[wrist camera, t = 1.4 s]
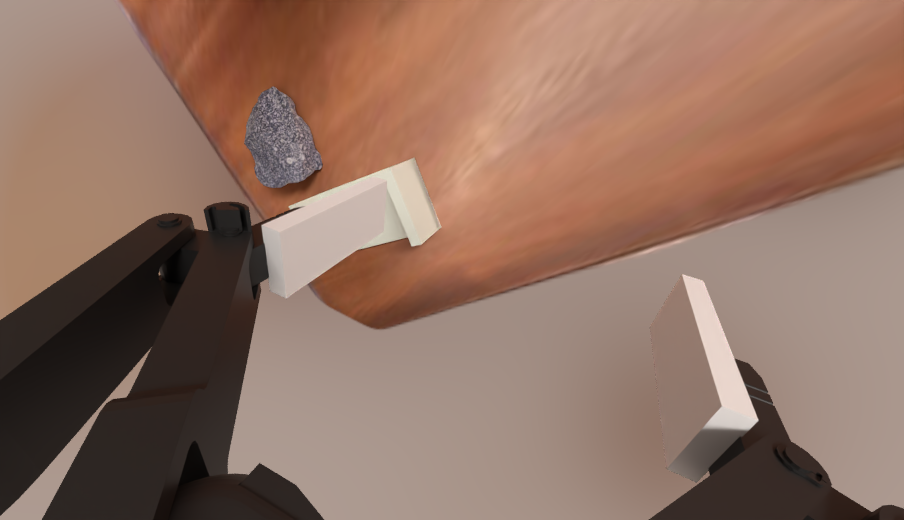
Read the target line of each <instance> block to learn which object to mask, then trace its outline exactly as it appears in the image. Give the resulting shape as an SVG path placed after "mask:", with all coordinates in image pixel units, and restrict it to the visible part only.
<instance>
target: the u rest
mask: <svg viewBox="0 0 904 520" xmlns="http://www.w3.org/2000/svg"><path fill="white" fill-rule="evenodd" d="M373 176H374V177H377V178H380V179H383V180H387V192H386V207H385V221H384V232H382V233H381V234H379V235H378V236H377V237H375V238H374V239H372V240H371V241H369V242H368V243H366V244H365V245H363V246H362V247H361V248H359V249H363V248H367V247H371V246H375V245H379V244H383V243H387V242H391V241H395V240H399V239H403V238H407V237H408V239H409V241H410V243H411V246H416V245H421V244H423V243H424V242H425V241H426V240H427V239H428V238H429V237H431V236H432V235H433V234H434V233H435V232H436V231H437V230H439V229H440V228H441V225H440V222H439V220H438V217H437V215H436V212H435V209H434V207H433V204H432V202H431V199H430V197H429V194H428V191H427V189H426V186H425V184H424V181H423V179H422V176H421V173H420V171H419V168H418V166H417V163H416V161H415V158H412V159H410V160H407V161H404V162H402V163H399V164H396V165H394V166H391V167H389V168H386V169H383V170H381V171H378V172H375V173H373V174H370V175H367V176H365V177H362V178H360V179H357V180H354V181H352V182H349V183H346V184H344V185H341V186H339V187H336V188H333V189H331V190H328V191H325V192H323V193H320V194H317V195H315V196H313V197H310V198H308V199H305V200H303V201H300V202H298V203H295V204H293V205H291V206H289V208H290V210H291V209H293V208H297V207H302V206H306V205H309V204H311V203H313V202H316V201H318V200H320V199H323V198H325V197H327V196H330V195H332V194H334V193H336V192H339V191H341V190H343V189H346V188H348V187H350V186H353V185H355V184H357V183H359V182H362V181H364V180H366V179H369V178H371V177H373ZM359 249H358V250H359Z"/></svg>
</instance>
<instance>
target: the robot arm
mask: <svg viewBox="0 0 904 520" xmlns="http://www.w3.org/2000/svg"><path fill="white" fill-rule="evenodd" d="M386 192H387V180H383V179H380V178H377V177H374V176H373V177H371V178H369V179H366V180H364V181H362V182H359V183H357V184H355V185H353V186H350V187H348V188H346V189H343V190H341V191H339V192H336V193H334V194H332V195H330V196H327V197H325V198H323V199H320V200H318V201H316V202H313V203H311V204H309V205H306V206H302V207H297V208H293V209H291V210H288V211H286V212H284V214H283V213H281V214H279V215H277V216H276V217H272V218H270V219H267V220H265V221H262V222H260V223H258V224H255V225H254V226H251V220H250V213H249V207H247V206H246V205H245V204H242V203H238V202H221V203H215V204H212V205H209V206H207V207H206V208H205V209H204V213H205V218H206V222H207V227H208V231H203V230H197V229H194V225H193V221H192V218H191V217H189V216H188V215H183V214H174V213H168V214H162V215H159V216H156V217H153V218H151V219H149V220H147V221H146V222H144V223H143V224H141V225H140V226H138V227H137V228H135V229H134V230H132V231H131V232H129V233H128V234H127V235H125V236H124V237H122V238H121V239H119V240H118V241H116V242H115V243H113V244H112V245H111V246H109V247H107V248H106V249H104V250H103V251H101V252H100V253H99V254H97V255H96V256H94V257H93V258H91V259H90V260H88V261H87V262H85V263H84V264H82V265H81V266H80V267H78V268H77V269H75V270H73V271H72V272H70V273H69V274H68V275H66V276H65V277H63V278H62V279H60V280H59V281H57V282H56V283H54V284H53V285H51V286H50V287H48V288H47V289H45V290H44V291H43V292H41V293H40V294H38V295H37V296H35V297H34V298H32V299H31V300H29V301H28V302H26V303H25V304H23V305H22V306H20V307H19V308H17V309H16V310H15V311H13V312H12V313H10V314H9V315H7V316H6V317H4V318H3V319H1V320H0V515H2V514H3V513H4V512H5V511H6V510H7V509H8V508H9V507H10V506H11V505H12V504H13V503H14V502H15V501H16V500H17V499H19V498H20V496H21V495H22V494H23V493H24V492H25V491H26V490H27V489H28V488H29V487H30V486H31V485H32V484H33V483H34V481H35V480H36V479H37V478H38V477H39V476H40V475H41V474H42V473H43V472H44V471H45V469H46V468H47V467H48V466H49V464H51V462H52V461H53V460H54V459H55V458H56V457H57V455H58V454H59V453H60V452H61V451H62V450H63V449H64V447H65V446H66V445H67V444H68V443H69V442H70V441H71V439H72V438H73V437H74V436H75V435H76V434H77V432H78V431H79V430H80V429H81V428H82V427H83V426H84V424H85V423H86V422H87V421H88V420H89V419H90V417H91V416H92V415H93V414H94V413H95V412H96V410H97V409H98V408H99V407H100V406H101V405H102V403H103V402H104V401H105V400H106V399H107V398H108V397H109V396H110V394H111V393H112V392H113V391H114V390H115V389H116V387H117V386H118V385H119V384H120V383H121V382H122V381H123V379H124V378H125V377H126V376H127V375H128V374H129V372H130V371H131V370H132V369H133V367H135V365H136V364H137V363H138V362H139V361H140V360H141V358H142V357H143V356H144V355H145V354H146V353H147V352H148V351H149V349H150V348H151V347H152V348H151V350H150V352H149V354H148V356H147V358H146V360H145V362H144V365H143V366H142V368H141V371H140V372H139V375H138V377H137V379H136V381H135V383H134V385H133V387H132V389H131V391H130V393H129V394H128V396H127V397H126V398H119V399H113V400H111V401H110V402H108V403H106V405H105V406H104V407H103V409H102V410H101V411H100V413H99V415H98V417H97V419H96V421H95V422H94V424H93V426H92V428H91V430H90V432H89V433H88V435H87V437H86V439H85V441H84V443H83V444H82V446H81V448H80V450H79V452H78V454H77V456H76V457H75V459H74V461H73V463H72V465H71V467H70V469H69V470H68V472H67V474H66V476H65V478H64V480H63V482H62V483H61V485H60V487H59V489H58V491H57V493H56V495H55V496H54V498H53V500H52V502H51V504H50V506H49V508H48V509H47V511H46V513H45V515H44V517H43V518H42V520H324V519H323V518H322V517H321V515H320V514H319V513H318V512H317V510H316V509H315V508H314V507H313V505H312V504H311V503H310V502H309V501H308V499H307V498H306V497H305V496H304V494H303V493H302V492H301V491H300V489H299V488H298V487H297V486H296V485H295V484H293V483H292V482H290V481H288V480H286V479H285V478H283V477H282V476H280V475H278V474H277V473H275V472H273V471H272V470H270V469H269V468H267V467H265V466H264V465H262V464H260V463H259V464H258V465H257V466H256V468H255V469H254V470H253V471H252V472H251V473H250V474H249V475H246V474H228V468H227V467H228V466H227V465H228V455H229V450H230V444H231V440H232V435H233V429H234V424H235V419H236V414H237V409H238V404H239V399H240V394H241V389H242V383H243V379H244V374H245V369H246V364H247V358H248V354H249V349H250V344H251V338H252V333H253V328H254V324H255V319H256V313H257V309H258V303H259V298H260V293H261V288H260V282H262V281H264V280H266V279H267V278H268V280H269V287H270V291H271V292H273V293H275V294H278V295H280V296H282V297H284V298H288V297H289V296H291V295H292V294H293V293H295V292H296V291H298V290H299V289H301V288H302V287H304V286H305V285H307V284H308V283H310V282H311V281H312V280H314V279H315V278H317V277H318V276H320V275H321V274H323V273H324V272H326V271H327V270H329V269H330V268H331V267H333V266H334V265H336V264H337V263H339V262H340V261H342V260H343V259H345V258H346V257H347V256H349V255H350V254H352V253H353V252H355V251H356V250H358V249H359V248H361V247H362V246H363V245H365V244H366V243H368V242H369V241H371V240H372V239H374V238H375V237H377V236H378V235H379V234H381V233H382V232H384V221H385V207H386ZM159 271H160V274H161V275H160V276H159V274H158V273H159ZM650 332H651V342H652V350H653V358H654V367H655V376H656V384H657V393H658V402H659V410H660V419H661V427H662V436H663V444H664V453H665V462H666V469H668V470H670V471H672V472H674V473H676V474H679V475H681V476H683V477H685V478H688V479H690V480H692V481H694V482H698V481H699V480H700V479H701V477H703V475H705V474H706V473H707V471H709V473H710V476H709V477H708V478H706V479H705V480H703V481H702V482H701V483H699V484H698V485H697V486H695V487H694V488H692V489H691V490H689V491H688V492H687V493H685V494H684V495H683V496H681V497H680V498H678V499H677V500H676V501H674V502H673V503H671V504H670V505H669V506H667V507H666V508H664V509H663V510H662V511H660V512H659V513H657V514H656V515H655V516H653V517H652V518H651V519H649V520H904V509H903V508H900V507H897V506H894V505H885V506H882V507H880V508H878V509H877V510H875V511H874V512H871V511H869V510H867V509H866V508H864V507H863V506H861V505H859V504H858V503H856V502H855V501H853V500H851V499H850V498H848V497H846V496H845V495H843V494H842V493H840V492H838V491H837V490H835V489H834V488H832V487H831V485H832V484H831V482H830V479H829V477H828V474H827V473H826V471H825V470H824V469H823V468H822V466H821V465H820V464H819V463H818V462H817V461H816V460H815V459H814V458H813V457H812V456H811V455H810V454H809V453H808V452H806V451H805V450H803V449H802V448H800V447H799V446H798V445H796V444H794V443H793V442H791V441H790V439H789V436H788V434H787V432H786V430H785V428H784V425H783V423H782V421H781V419H780V417H779V415H778V413H777V411H776V408H775V406H773V402H772V399H771V397H770V395H769V394H767V393H768V391H767V388H766V386H765V385H764V382H763V380H762V378H761V377H760V376H759V375H758V373H757V372H756V371H755V370H754V369H753V368H752V367H751V366H750V364H748V363H745V362H743V361H740V360H737V359H734V357H733V354H732V352H731V350H730V347H729V344H728V342H727V339H726V337H725V334H724V332H723V330H722V327H721V324H720V322H719V319H718V317H717V314H716V312H715V309H714V306H713V304H712V301H711V299H710V296H709V294H708V291H707V289H706V286H705V284H704V281H702V280H699V279H695V278H693V277H689V276H686V275H683V274H682V275H681V276H680V278H679V280H678V281H677V283H676V285H675V286H674V288H673V290H672V291H671V293H670V295H669V296H668V298H667V300H666V301H665V303H664V305H663V306H662V308H661V310H660V311H659V313H658V314H657V316H656V318H655V320H654V321H653V323H652V324H651V326H650Z"/></svg>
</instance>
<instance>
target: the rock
mask: <svg viewBox="0 0 904 520" xmlns="http://www.w3.org/2000/svg"><path fill="white" fill-rule="evenodd" d="M246 130H247V131H246V136H245V143H244V144H245V145H246V146H247V148H248V149H249V150H250V151H251V153H252V155H253V158H254V160H255V164H256V165H255V167H254V169H255V174H256V176H257V178H258V180H259V181H260V182H261V183H262V184H263V185H264V186H267V187H271V188H281V187H283V186H285V185H286V184H287V183H298V182H300V181H303V180H305V179H306V178H307V177H308V176H310V175H311V174H312V173H313V172H314V170H320V169H321V168H322V161H321V156H320V154H319V152H318V151H317V150H316V148H315V145H314V142H313V137H312V134H311V131H310V128H309V126H308V125H307V124H306V123H305V122H304V120H303V119H302V118H301V117H299V116H298V115H297V113H296V110H295V104H294V102H293V101H292V99H291V98H290V97H288V96H287V95H286V94H284V93H282V92H280V91H279V90H278V89H276V88H275V87H271V88H270V89H268V90H265V91H263V92H262V93H261V94H260V96H259V98H258V102H257V103H256V104H255V106H254V107H253V109H252V112H251V114H250V117H249V119H248V122H247V125H246Z"/></svg>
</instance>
